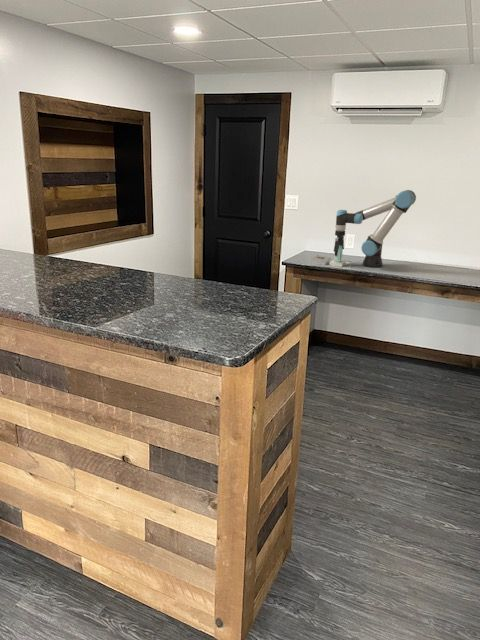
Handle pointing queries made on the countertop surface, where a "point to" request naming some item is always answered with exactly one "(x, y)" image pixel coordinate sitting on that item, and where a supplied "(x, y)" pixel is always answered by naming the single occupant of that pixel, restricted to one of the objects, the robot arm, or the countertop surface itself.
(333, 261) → the holster
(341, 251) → the plug
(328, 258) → the port panel
